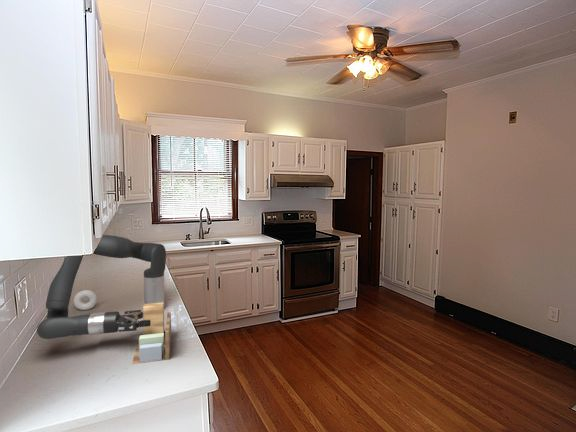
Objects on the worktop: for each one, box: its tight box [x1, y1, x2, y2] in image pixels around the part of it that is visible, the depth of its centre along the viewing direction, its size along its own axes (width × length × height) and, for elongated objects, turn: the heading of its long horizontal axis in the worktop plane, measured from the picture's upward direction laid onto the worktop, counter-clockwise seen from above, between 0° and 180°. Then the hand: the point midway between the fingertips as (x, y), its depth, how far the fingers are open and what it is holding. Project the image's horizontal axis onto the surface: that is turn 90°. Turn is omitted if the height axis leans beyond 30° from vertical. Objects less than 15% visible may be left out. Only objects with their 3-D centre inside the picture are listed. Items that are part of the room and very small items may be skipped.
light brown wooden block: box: [142, 301, 165, 335], centre depth 128 cm, size 4×7×15 cm, turn 107°
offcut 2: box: [140, 343, 163, 363], centre depth 117 cm, size 2×7×5 cm, turn 107°
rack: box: [131, 311, 172, 365], centre depth 124 cm, size 19×12×11 cm, turn 17°
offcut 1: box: [138, 333, 164, 358], centre depth 120 cm, size 3×8×7 cm, turn 107°
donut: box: [73, 289, 98, 311], centre depth 164 cm, size 10×4×10 cm, turn 114°
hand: (151, 318), depth 128 cm, fingers open, 8 cm apart
